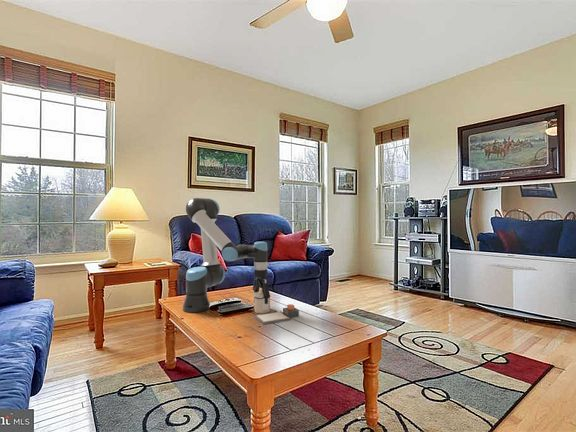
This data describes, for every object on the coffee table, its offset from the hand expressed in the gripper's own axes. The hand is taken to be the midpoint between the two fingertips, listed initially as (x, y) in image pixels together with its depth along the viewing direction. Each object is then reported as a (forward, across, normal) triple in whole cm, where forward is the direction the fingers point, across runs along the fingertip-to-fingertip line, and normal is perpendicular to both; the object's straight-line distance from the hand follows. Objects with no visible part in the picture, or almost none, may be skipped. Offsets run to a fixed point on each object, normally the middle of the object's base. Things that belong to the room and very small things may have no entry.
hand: (261, 306), depth 183 cm
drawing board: (+3, -15, 0) cm, 15 cm away
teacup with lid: (+3, 0, 0) cm, 3 cm away
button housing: (+3, -15, -11) cm, 19 cm away
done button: (0, -15, -11) cm, 19 cm away
